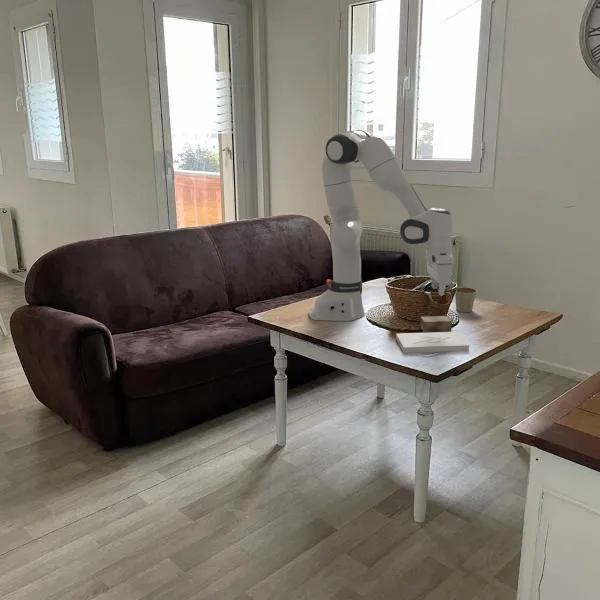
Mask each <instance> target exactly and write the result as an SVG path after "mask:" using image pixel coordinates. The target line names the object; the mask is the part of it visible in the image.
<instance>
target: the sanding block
mask: <svg viewBox="0 0 600 600" xmlns="http://www.w3.org/2000/svg"><path fill="white" fill-rule="evenodd" d="M452 322H453V321H452V319H451V318H450V317H449V316H448V315H443V316H442V315H437V316H436V315H435V316H420V323H419V324H420V326H421V328H422V330H423V332H422V333H430V332H452V325H453V324H452ZM420 326H419V327H420Z"/></svg>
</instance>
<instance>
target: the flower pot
mask: <svg viewBox="0 0 600 600" xmlns="http://www.w3.org/2000/svg"><path fill="white" fill-rule="evenodd" d="M456 288H457V292H456V295H455V294H454V298H455V309H456V311H458V312H460V313H472V311H473V307H474V302H475V298H476V295H477V293H478V291H479V290H477V289H475V288H474V287H466V286H461V287H456Z"/></svg>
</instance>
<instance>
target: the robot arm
mask: <svg viewBox="0 0 600 600" xmlns="http://www.w3.org/2000/svg"><path fill="white" fill-rule="evenodd" d="M387 143H388V142H386V141H385V139H384V138H383V137H381V136H380V135H379V136H377V135H374V136H373V135H372V134H371V133H370V132H369V131H366V130H363V129H356V130H348V131H345V132H343V133H339V134H335V135H333V136H332V137H330V138H329V139H328V141H327V142H326V145H325V148H324V149H325V155H326V156H325V157H324V158H323V159H322V162H321V164H322V165H321V166H322V167H321V169H322V171H321V173H322V181H323V182H322V183H323V186H324V187H323V189H324V194H325V199H326V203H327V207H328V210H329V212H330V216H331V219H332V224H333V227H332V228H331V231H330V241H331V243H330V244H331V254H332V255H331V256H332V275H333V276H332V278H333V279H332V280H331V279H327V280H326V285H327V290H326V291H324V292H323V293H321V294H320V295H319V296H318V297H317V298H316V299H315V303H314V307H313V308H311V309H309V311H308V317H309V318H310V319H312V320H314V321H332V322H333V321H334V322H335V321H336V322H337V321H339V322H352V321H354V320H356V319H359V318H362V317H364V316H365V315H366V313H365V309H364V305H363V299H362V298H363V297H362V294H363V280H362V258H361V236H362V234H363V231H364V229H363V223H362V220H361V216H360V215H361V214H360V211H359V207H358V203H357V199H356V193H355V187H354V182H353V175H352V171H351V170H352V169H351V168H352V165H353V163H356V164H357V163H358V162H361V163H362V164H363V165H364V167H365V169H366V171H367V174H368V176H369V178H370V179H371V181H372V182H373V183H374V185H375V186H376V187H377V188H378V190H381V191H383V192H387V193H389V194H392V195H393V196H394V197H396V198H397V199H398V200H399V201H400V203H401V204H402V206H403V207H404V209H405V211H406V212H407V215H408V216H409V218H407V219H405V220H404V221H403V222H402V223H401V225H400V228H399V233H400V237H401V239H402V240H403V241H404V242H405V243H406V244H409V245H418V244H423V243H424V244H425V247H426V248H425V249H426V252H425V259H426V260H427V262H426V263H427V264H426V273H427V275H429V276H430V281H431V288H432V289H433V290H435V289H438V291H437V293H438V294H439V295H440V296H443V295H445V290H446V286H450V285H451V283H452V274H453V264H454V262H455V257H454V255H453V251H452V249H453V247H452V245H453V244H452V235H453V219H452V218H453V217H452V214H451V212H450V211H449V210H448V209H445V208H441V207H430V208H429V209H427V208H426V207H425V206H424V204H423V202H422V200H421V199H420V197H419V195H418V194H417V192H416V191H415V189H414V188H413V186H412V184H411V183H410V182H409V180H408V178H407V177H406V175H405V173H404V171H403V169H402V167H401V166H400V163H399V161H398V160H397V157H396V156H395V154H394V153H393V150H392V149H391V148H390V146H389V145H388V144H387ZM438 286H439V287H438Z"/></svg>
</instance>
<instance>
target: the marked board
mask: <svg viewBox="0 0 600 600" xmlns="http://www.w3.org/2000/svg"><path fill="white" fill-rule="evenodd" d="M395 340H396V342H397V343H398V345H399V347H400V348H401V350H402V352H403V354H413V353H414V354H416V353H419V354H420V353H443V352H445V353H446V352H447V353H448V352H469V350H470V344H469V343H468V341H466V340H465V339H464V337H463V336H462V335H461V334H460V333H459V332H458V331H451V332H430V333H423V332H409V333H404V332H403V333H395Z"/></svg>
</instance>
